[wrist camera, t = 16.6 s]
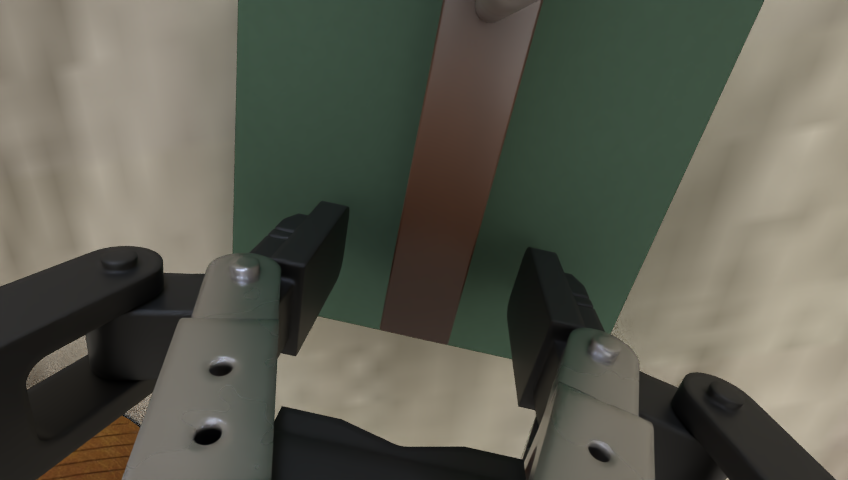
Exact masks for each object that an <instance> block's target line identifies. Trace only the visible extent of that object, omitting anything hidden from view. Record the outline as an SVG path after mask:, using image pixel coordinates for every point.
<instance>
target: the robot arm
mask: <svg viewBox="0 0 848 480" xmlns="http://www.w3.org/2000/svg"><path fill="white" fill-rule="evenodd" d="M349 211H350V210H349V207H348V206H344V205H340V204H335V203H331V202H326V201H321V202H320V203H319V204H318V205H317V206H316V207H315V208H314V210H313V211H312V212H311V213H310V214H309V215H304V214H300V213H298V214H295V215H293V216H290V217H287V218H284V219H283V220H282V221H281V222H280V223H279V224H278V225H277V226H276V227H275V229H273V230H272V231H271V232H270V233H269V234H268V236H266V237H265V238H264V239H263V240H262V241H261V242H260V243H259V244H258V245H257V246H256V247H254V248H253V249H252V250H251V251H250V252H249V253H234V254H228V255H224V256H222V257H219V258H217V259H215V260H214V261H212V262H211V263H210V264H209V265H208V267H207V270H206V273H205V274H179V273H163V260H162V257H161V256H160V255H159V254H158V253H156V252H155V251H152V250H150V249H147V248H142V247H135V246H118V247H109V248H104V249H100V250H96V251H93V252H90V253H88V254H85V255H82V256H80V257H77V258H75V259H72V260H69V261H67V262H64V263H61V264H59V265H56V266H53V267H51V268H48V269H46V270H43V271H40V272H38V273H35V274H32V275H30V276H27V277H24V278H22V279H19V280H17V281H14V282H11V283H9V284H6V285H3V286H1V287H0V480H37V479H38V478H39V477H41V476H42V475H43V474H45V473H46V472H47V471H49V470H50V469H51V468H53V467H54V466H55V465H57V464H58V463H59V462H61V461H62V460H63V459H65V458H66V457H67V456H69V455H70V454H71V453H73V452H74V451H75V450H77V449H78V448H79V447H81V446H82V445H83V444H85V443H86V442H87V441H89V440H90V439H91V438H93V437H94V436H95V435H97V434H98V433H99V432H101V431H102V430H103V429H105V428H106V427H107V426H108V425H110V424H111V423H112V422H114V421H115V420H116V419H118V418H119V417H120V416H122V415H123V414H124V413H126V412H127V411H128V410H130V409H131V408H132V407H134V406H135V405H136V404H138V403H139V402H140V401H142V400H143V399H144V398H146V397H147V396H148V395H150V394H151V393H152V392H153V393H152V396H151V399H150V402H149V405H148V407H147V410H146V413H145V416H144V418H143V421H142V424H141V427H140V430H139V432H138V435H137V438H136V441H135V443H134V446H133V449H132V452H131V455H130V457H129V460H128V463H127V466H126V468H125V471H124V474H123V477H122V480H726V478H727V477H728V478H729V480H836V479H835V478H834V477H833V476H832V475H831V474H830V473H828V472H827V471H826V470H825V469H824V468H823V467H822V466H821V465H820V464H819V463H818V462H817V461H816V460H815V459H814V458H813V457H812V456H811V455H810V454H809V453H808V452H807V451H806V450H805V449H804V448H803V447H802V446H801V445H799V444H798V443H797V442H796V441H795V440H794V439H793V438H792V437H791V436H790V435H789V434H788V433H787V432H786V431H785V430H784V429H783V428H782V427H781V426H780V425H779V424H778V423H777V422H776V421H775V420H774V419H773V418H772V417H770V416H769V415H768V414H767V413H766V412H765V411H764V410H763V409H762V408H761V407H760V406H759V405H758V404H757V403H756V402H755V401H754V400H753V399H752V398H751V397H749V396H748V395H747V394H746V393H744V392H743V391H742V390H740V389H739V388H737V387H736V386H734V385H732V384H731V383H729V382H727V381H725V380H723V379H720V378H718V377H715V376H712V375H709V374H705V373H698V372H696V373H689V374H687V375H686V376H685V377H684V379H683V381H682V382H681V384H680V386H679V388H677V387H675V386H673V385H670V384H668V383H666V382H663V381H661V380H658V379H656V378H654V377H651V376H649V375H647V374H645V373H643V372H641V371H639V359H638V357H637V355H636V354H635V352H634V351H633V350H632V349H631V348H630V347H629V346H628V345H627V344H625V343H624V342H623V341H621V340H620V339H618V338H617V337H615V336H613V335H611V334H609V333H606V332H605V331H604V328H603V326H602V324H601V322H600V320H599V317H598V315H597V313H596V311H595V309H593V307H594V306H593V304H592V302H591V300H590V299H589V296H588V293H587V291H586V289H585V287H584V285H583V284H582V283H581V282H580V281H578V280H577V279H576V278H575V277H574V276H573V275H572V274H568V273H564V271H563V268H562V266H561V263H560V261H559V258H558V256H557V254H556V253H555V252H550V251H546V250H541V249H537V248H532V247H528V248H527V249H526V251H525V253H524V256H523V259H522V262H521V265H520V268H519V271H518V274H517V277H516V280H515V283H514V286H513V289H512V292H511V295H510V298H509V303H508V308H507V323H508V331H509V338H510V346H511V353H512V361H513V369H514V376H515V384H516V391H517V399H518V406H519V407H523V408H528V409H532V410H535V411H536V418H535V420H534V422H533V425H532V427H531V430H530V432H529V435H528V439H527V442H526V445H525V448H524V451H523V454H522V457H521V459H517V458H513V457H508V456H504V455H499V454H495V453H490V452H486V451H481V450H477V449H472V448H468V447H403V446H398V445H396V444H393V443H391V442H389V441H387V440H385V439H382V438H380V437H378V436H376V435H374V434H372V433H370V432H367V431H365V430H363V429H361V428H359V427H357V426H354V425H352V424H350V423H348V422H346V421H344V420H342V419H337V418H333V417H328V416H324V415H319V414H315V413H310V412H306V411H301V410H297V409H292V408H288V407H283V406H282V407H281V409H280V411H279V413H278V415H277V417H276V419H275V421H274V414H275V394H276V374H277V359H278V357H279V355H280V353H283V354H288V355H292V356H296V355H297V353H298V352H299V350H300V348H301V346H302V344H303V342H304V341H305V339H306V337H307V335H308V333H309V331H310V329H311V328H312V326H313V324H314V322H315V320H316V318H317V317H318V315H319V313H320V311H321V309H322V307H323V305H324V304H325V302H326V300H327V298H328V296H329V294H330V293H331V291H332V289H333V287H334V285H335V283H336V281H337V279H338V277H339V274H340V271H341V267H342V263H343V257H344V250H345V243H346V236H347V228H348V221H349ZM84 335H85V336H86V342H87V349H88V355H86V356H85V357H83V358H81V359H79V360H78V361H76V362H74V363H72V364H71V365H69V366H67V367H66V368H64V369H62V370H60V371H59V372H57V373H55V374H53V375H52V376H50V377H48V378H47V379H45V380H43V381H41V382H40V383H38V384H36V385H35V386H33V387H31V388H29V389H28V390H27V389H26V380H27V377H28V375H29V373H30V371H31V370H32V368H33V367H34V366H35V365H36V364H37V363H38V362H39V361H40V360H41V359H42V358H44V357H45V356H47V355H49V354H50V353H52V352H54V351H56V350H58V349H60V348H62V347H63V346H65V345H67V344H69V343H71V342H73V341H75V340H76V339H78V338H80V337H82V336H84Z"/></svg>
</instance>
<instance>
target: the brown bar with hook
mask: <svg viewBox="0 0 848 480" xmlns="http://www.w3.org/2000/svg"><path fill="white" fill-rule="evenodd" d="M542 3H543V0H443V2H442V7H441V12H440V18H439V23H438V28H437V33H436V38H435V43H434V49H433V54H432V59H431V64H430V69H429V75H428V80H427V85H426V90H425V95H424V100H423V106H422V111H421V116H420V121H419V126H418V131H417V137H416V142H415V147H414V152H413V157H412V163H411V168H410V173H409V178H408V183H407V188H406V194H405V199H404V204H403V209H402V214H401V219H400V225H399V230H398V235H397V240H396V245H395V251H394V256H393V261H392V266H391V271H390V276H389V282H388V287H387V292H386V297H385V302H384V307H383V313H382V318H381V323H380V330H382V331H387V332H391V333H396V334H400V335H405V336H409V337H414V338H418V339H423V340H427V341H432V342H436V343H441V344H445V345H447V344H448V342H449V339H450V335H451V332H452V328H453V324H454V321H455V317H456V314H457V310H458V306H459V303H460V299H461V296H462V292H463V288H464V285H465V281H466V278H467V274H468V270H469V267H470V263H471V260H472V256H473V252H474V249H475V245H476V241H477V238H478V234H479V231H480V227H481V223H482V220H483V216H484V213H485V209H486V205H487V202H488V198H489V195H490V191H491V187H492V184H493V180H494V177H495V173H496V169H497V166H498V162H499V159H500V155H501V151H502V148H503V144H504V140H505V137H506V133H507V130H508V126H509V122H510V119H511V115H512V112H513V108H514V104H515V101H516V97H517V94H518V90H519V86H520V83H521V79H522V76H523V72H524V68H525V65H526V61H527V58H528V54H529V50H530V47H531V43H532V39H533V36H534V32H535V29H536V25H537V21H538V18H539V14H540V11H541V7H542Z"/></svg>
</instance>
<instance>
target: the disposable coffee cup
mask: <svg viewBox="0 0 848 480" xmlns="http://www.w3.org/2000/svg"><path fill="white" fill-rule="evenodd" d="M139 430H140V427H138V426H137V425H136V424H134V423H133V422H132V421H130V420H129V419H127V418H126V417H124V416H120V417H119V418H118V419H116V420H115V421H114V422H112V423H111V424H110V425H108V426H107V427H106V428H105V429H103V430H102V431H101V432H99V433H98V434H97V435H95V436H94V437H93V438H91V439H90V440H89V441H87V442H86V443H85V444H83V445H82V446H81V447H79V448H78V449H77V450H75V451H74V452H73V453H71V454H70V455H69V456H67V457H66V458H65V459H63V460H62V461H61V462H59V463H58V464H57V465H55V466H54V467H53V468H51V469H50V470H49V471H47V472H46V473H45V474H43V475H42V476H41V477H39V478H38V479H37V480H122V477H123V474H124V471H125V468H126V466H127V463H128V460H129V457H130V455H131V452H132V449H133V446H134V443H135V441H136V438H137V435H138V432H139Z"/></svg>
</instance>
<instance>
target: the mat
mask: <svg viewBox="0 0 848 480" xmlns="http://www.w3.org/2000/svg"><path fill="white" fill-rule="evenodd" d="M442 2H443V0H238V32H237V78H236V124H235V170H234V215H233V254H234V253H249V252H250V251H251V250H252V249H253V248H254V247H256V246H257V245H258V244H259V243H260V242H261V241H262V240H263V239H264V238H265V237H266V236H268V234H269V233H270V232H271V231H272V230H273V229H275V227H276V226H277V225H278V224H279V223H280V222H281V221H282V220H283V219H284V218H287V217H290V216H293V215H295V214H298V213H300V214H304V215H309V214H310V213H311V212H312V211H313V210H314V208H315V207H316V206H317V205H318V204H319V203H320V202H321V201H326V202H331V203H335V204H340V205H344V206H348V207H349V210H350V211H349V221H348V228H347V236H346V243H345V250H344V257H343V263H342V267H341V271H340V274H339V277H338V279H337V281H336V283H335V285H334V287H333V289H332V291H331V293H330V294H329V296H328V298H327V300H326V302H325V304H324V305H323V307H322V309H321V311H320V313H319V315H318V316H320V317H324V318H329V319H333V320H338V321H342V322H347V323H351V324H356V325H360V326H365V327H369V328H374V329H378V330H380V323H381V318H382V313H383V307H384V302H385V297H386V292H387V287H388V282H389V276H390V271H391V266H392V261H393V256H394V251H395V245H396V240H397V235H398V230H399V225H400V219H401V214H402V209H403V204H404V199H405V194H406V188H407V183H408V178H409V173H410V168H411V163H412V157H413V152H414V147H415V142H416V137H417V131H418V126H419V121H420V116H421V111H422V106H423V100H424V95H425V90H426V85H427V80H428V75H429V69H430V64H431V59H432V54H433V49H434V43H435V38H436V33H437V28H438V23H439V18H440V12H441V7H442ZM763 2H764V0H543V3H542V7H541V11H540V14H539V18H538V21H537V25H536V29H535V32H534V36H533V39H532V43H531V47H530V50H529V54H528V58H527V61H526V65H525V68H524V72H523V76H522V79H521V83H520V86H519V90H518V94H517V97H516V101H515V104H514V108H513V112H512V115H511V119H510V122H509V126H508V130H507V133H506V137H505V140H504V144H503V148H502V151H501V155H500V159H499V162H498V166H497V169H496V173H495V177H494V180H493V184H492V187H491V191H490V195H489V198H488V202H487V205H486V209H485V213H484V216H483V220H482V223H481V227H480V231H479V234H478V238H477V241H476V245H475V249H474V252H473V256H472V260H471V263H470V267H469V270H468V274H467V278H466V281H465V285H464V288H463V292H462V296H461V299H460V303H459V306H458V310H457V314H456V317H455V321H454V324H453V328H452V332H451V335H450V339H449V342H448V344H447V345H450V346H455V347H459V348H464V349H468V350H473V351H477V352H482V353H486V354H491V355H495V356H500V357H504V358H509V359H512V353H511V346H510V338H509V331H508V323H507V308H508V303H509V298H510V295H511V292H512V289H513V286H514V283H515V280H516V277H517V274H518V271H519V268H520V265H521V262H522V259H523V256H524V253H525V251H526V249H527V248H528V247H532V248H537V249H541V250H546V251H550V252H555V253H556V254H557V256H558V258H559V261H560V263H561V266H562V268H563V271H564V273H568V274H572V275H573V276H574V277H575V278H576V279H577V280H578V281H580V282H581V283H582V284H583V285H584V287H585V289H586V291H587V293H588V296H589V299H590V300H591V302H592V304H593V306H594V307H593V309H595V311H596V313H597V315H598V317H599V320H600V322H601V324H602V326H603V328H604V331H605V332H606V333H609V334H610V333H611V331H612V329H613V327H614V325H615V323H616V320H617V318H618V316H619V314H620V312H621V310H622V307H623V305H624V303H625V301H626V299H627V297H628V294H629V292H630V290H631V288H632V286H633V284H634V281H635V279H636V277H637V275H638V273H639V271H640V268H641V266H642V264H643V262H644V260H645V258H646V255H647V253H648V251H649V249H650V247H651V245H652V242H653V240H654V238H655V236H656V234H657V232H658V229H659V227H660V225H661V223H662V221H663V219H664V216H665V214H666V212H667V210H668V208H669V206H670V203H671V201H672V199H673V197H674V195H675V193H676V190H677V188H678V186H679V184H680V182H681V180H682V177H683V175H684V173H685V171H686V169H687V167H688V164H689V162H690V160H691V158H692V156H693V154H694V151H695V149H696V147H697V145H698V143H699V141H700V138H701V136H702V134H703V132H704V130H705V128H706V125H707V123H708V121H709V119H710V117H711V115H712V112H713V110H714V108H715V106H716V104H717V102H718V99H719V97H720V95H721V93H722V91H723V89H724V86H725V84H726V82H727V80H728V78H729V76H730V73H731V71H732V69H733V67H734V65H735V63H736V60H737V58H738V56H739V54H740V52H741V50H742V47H743V45H744V43H745V41H746V39H747V37H748V34H749V32H750V30H751V28H752V26H753V24H754V21H755V19H756V17H757V15H758V13H759V11H760V8H761V6H762V4H763Z"/></svg>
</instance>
